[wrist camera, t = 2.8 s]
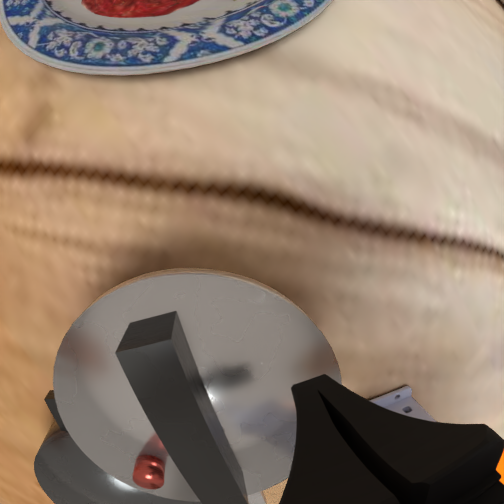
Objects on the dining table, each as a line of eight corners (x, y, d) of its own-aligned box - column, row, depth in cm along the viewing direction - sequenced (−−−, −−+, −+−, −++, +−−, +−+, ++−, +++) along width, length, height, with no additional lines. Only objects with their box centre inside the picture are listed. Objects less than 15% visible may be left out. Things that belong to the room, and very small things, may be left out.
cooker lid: (346, 470, 17) (367, 509, 14) (148, 515, 16) (145, 556, 12) (305, 228, 14) (342, 242, 10) (18, 309, 12) (-23, 341, 9)
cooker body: (224, 342, 20) (232, 386, 15) (264, 500, 24) (274, 539, 19) (15, 368, 18) (-15, 403, 13) (105, 512, 22) (98, 548, 17)
